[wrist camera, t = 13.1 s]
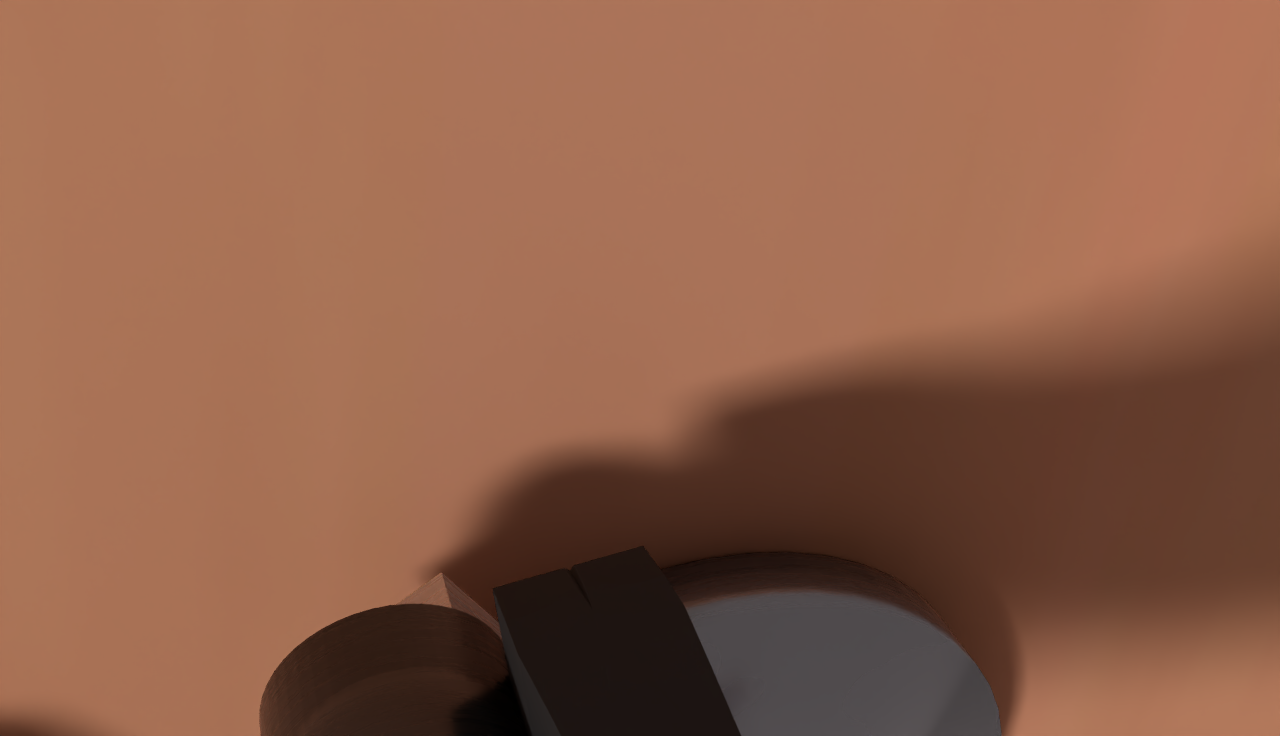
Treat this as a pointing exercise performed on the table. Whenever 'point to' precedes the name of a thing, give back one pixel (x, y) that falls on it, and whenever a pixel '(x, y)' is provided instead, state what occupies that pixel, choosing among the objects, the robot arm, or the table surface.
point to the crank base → (830, 650)
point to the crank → (398, 673)
